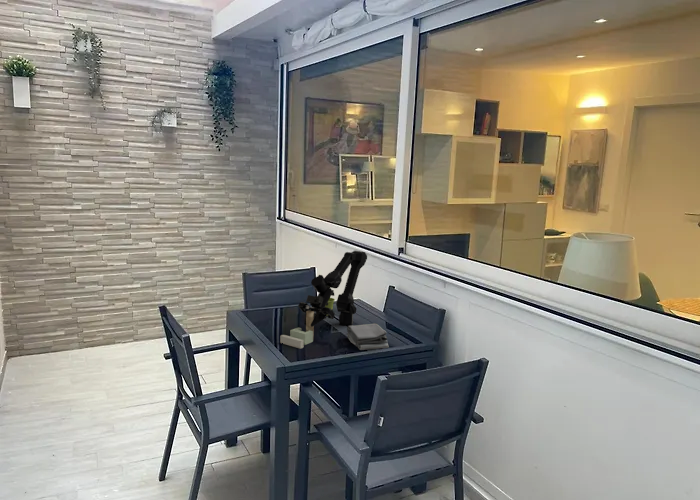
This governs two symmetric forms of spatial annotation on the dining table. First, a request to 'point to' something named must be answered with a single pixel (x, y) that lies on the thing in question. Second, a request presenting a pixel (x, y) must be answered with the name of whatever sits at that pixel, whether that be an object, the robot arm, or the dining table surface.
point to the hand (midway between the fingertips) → (308, 325)
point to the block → (302, 335)
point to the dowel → (309, 321)
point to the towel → (367, 336)
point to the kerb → (291, 341)
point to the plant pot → (330, 303)
